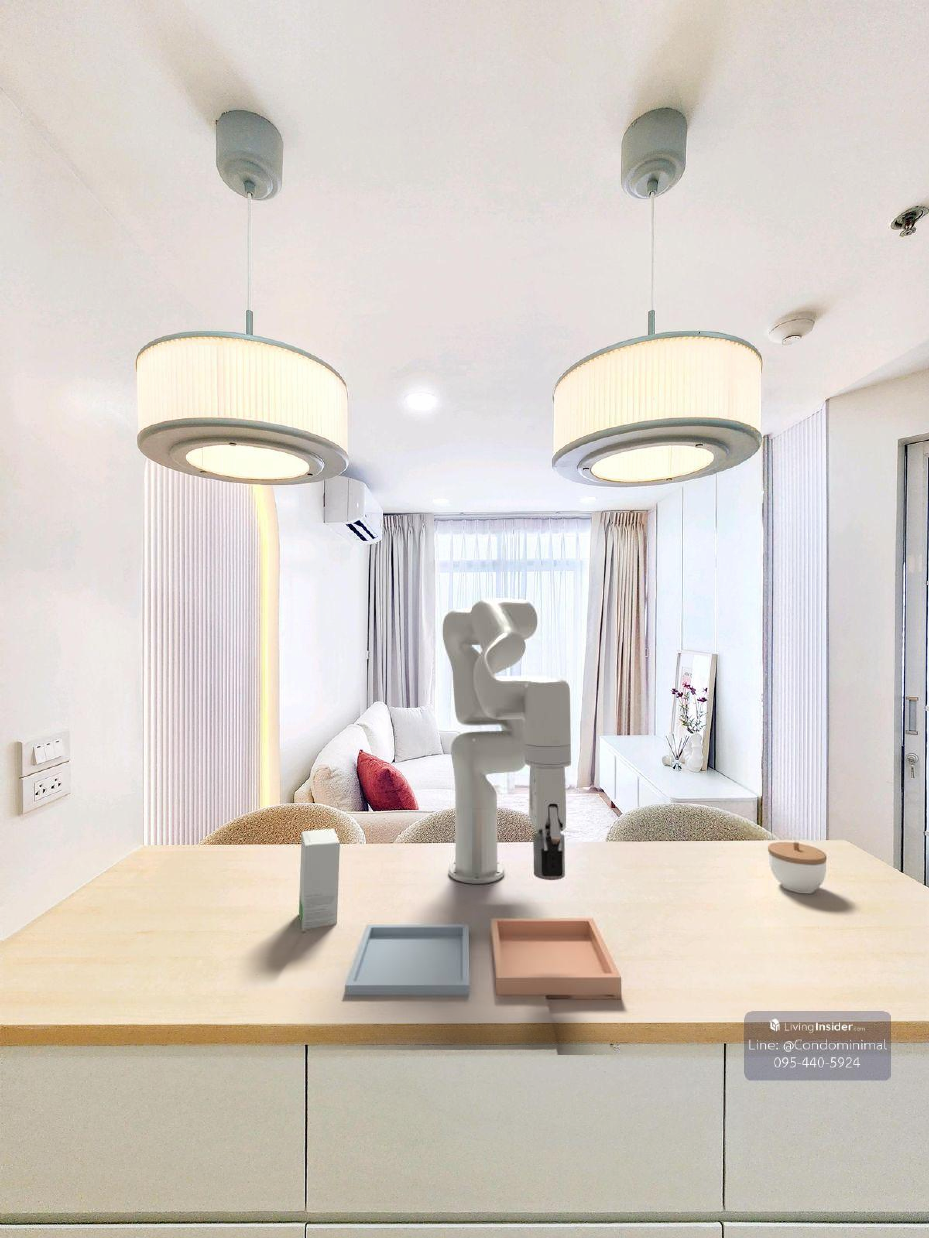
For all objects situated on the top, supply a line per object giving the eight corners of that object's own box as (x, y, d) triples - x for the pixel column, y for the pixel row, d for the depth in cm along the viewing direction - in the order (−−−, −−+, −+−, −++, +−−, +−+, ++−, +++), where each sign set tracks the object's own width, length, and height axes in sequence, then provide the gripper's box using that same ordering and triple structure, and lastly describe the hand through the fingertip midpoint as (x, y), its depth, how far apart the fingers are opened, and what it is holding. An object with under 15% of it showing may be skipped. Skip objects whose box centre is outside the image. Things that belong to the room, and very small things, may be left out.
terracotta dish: (491, 935, 99) (491, 918, 99) (593, 935, 99) (592, 918, 99) (497, 998, 81) (497, 977, 81) (621, 998, 81) (621, 977, 81)
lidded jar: (811, 878, 124) (809, 834, 124) (838, 899, 113) (837, 852, 114) (760, 876, 125) (759, 833, 126) (782, 897, 114) (781, 850, 115)
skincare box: (298, 913, 108) (299, 830, 109) (333, 907, 110) (334, 826, 111) (302, 933, 100) (303, 844, 101) (339, 927, 102) (340, 840, 103)
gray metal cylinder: (532, 867, 93) (531, 831, 94) (562, 867, 93) (561, 830, 94) (535, 880, 88) (535, 841, 89) (567, 879, 88) (567, 840, 89)
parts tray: (366, 936, 99) (366, 924, 99) (468, 935, 99) (468, 924, 99) (344, 999, 81) (345, 985, 81) (469, 999, 81) (469, 984, 81)
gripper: (519, 746, 101) (520, 850, 99) (530, 764, 84) (532, 890, 82) (561, 746, 101) (563, 850, 99) (581, 764, 84) (583, 890, 82)
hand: (549, 867), depth 91 cm, fingers closed on gray metal cylinder, 5 cm apart
